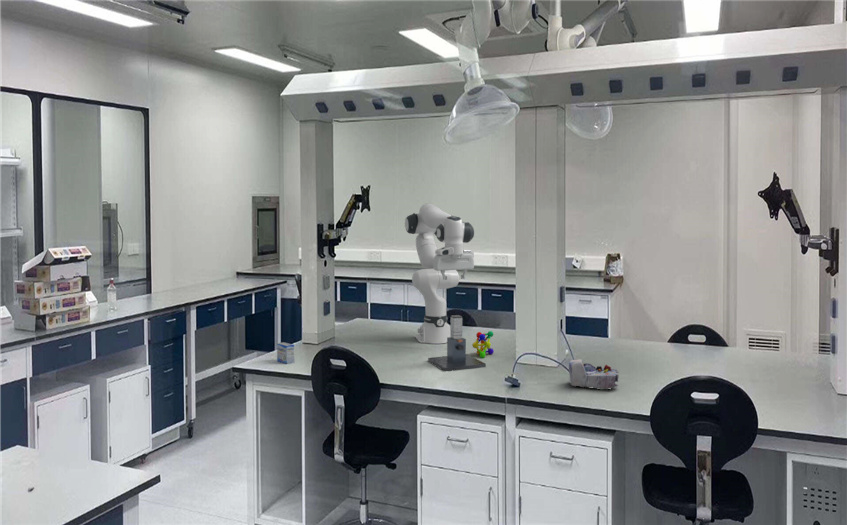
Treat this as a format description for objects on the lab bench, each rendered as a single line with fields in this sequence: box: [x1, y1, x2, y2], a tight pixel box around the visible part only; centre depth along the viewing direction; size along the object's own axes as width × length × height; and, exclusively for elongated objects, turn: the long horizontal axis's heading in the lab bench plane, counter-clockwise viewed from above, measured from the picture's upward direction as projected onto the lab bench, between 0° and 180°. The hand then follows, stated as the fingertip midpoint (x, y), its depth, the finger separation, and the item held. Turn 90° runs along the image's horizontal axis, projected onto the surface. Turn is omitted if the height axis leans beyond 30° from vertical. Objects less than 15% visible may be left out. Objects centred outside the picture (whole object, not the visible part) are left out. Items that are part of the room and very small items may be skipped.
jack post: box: [450, 314, 463, 340], centre depth 303 cm, size 4×4×17 cm
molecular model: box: [472, 330, 495, 359], centre depth 320 cm, size 12×7×12 cm, turn 145°
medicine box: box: [276, 341, 295, 365], centre depth 309 cm, size 8×4×9 cm, turn 47°
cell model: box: [568, 358, 620, 389], centre depth 268 cm, size 13×11×20 cm
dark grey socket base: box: [427, 336, 487, 372], centre depth 304 cm, size 20×20×12 cm
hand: (453, 279), depth 318 cm, fingers open, 8 cm apart
